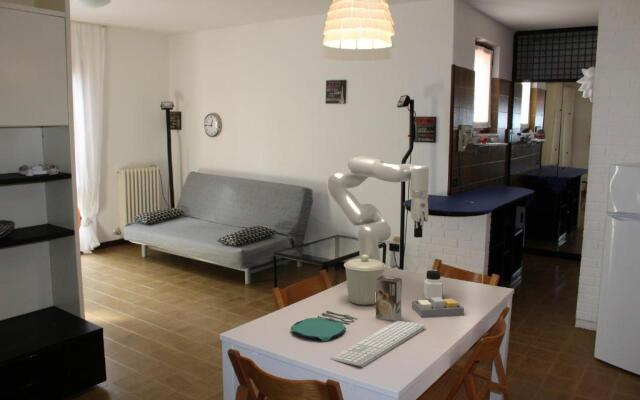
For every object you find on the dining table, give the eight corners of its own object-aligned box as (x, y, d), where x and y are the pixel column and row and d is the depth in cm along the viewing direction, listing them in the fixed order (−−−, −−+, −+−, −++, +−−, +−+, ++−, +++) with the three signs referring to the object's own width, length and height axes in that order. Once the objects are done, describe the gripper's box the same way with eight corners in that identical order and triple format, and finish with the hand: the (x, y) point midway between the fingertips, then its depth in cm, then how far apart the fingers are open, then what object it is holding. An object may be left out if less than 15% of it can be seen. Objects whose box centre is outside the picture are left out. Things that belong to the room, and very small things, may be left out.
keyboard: (397, 322, 219) (397, 317, 219) (425, 330, 212) (425, 324, 211) (329, 360, 185) (329, 353, 184) (360, 370, 177) (360, 363, 177)
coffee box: (402, 316, 224) (402, 278, 222) (396, 321, 219) (397, 282, 216) (380, 313, 229) (381, 275, 226) (374, 318, 223) (375, 279, 221)
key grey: (435, 308, 227) (435, 301, 227) (430, 304, 233) (430, 297, 233) (444, 308, 228) (444, 301, 228) (439, 303, 234) (439, 296, 233)
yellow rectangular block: (448, 310, 228) (448, 303, 228) (443, 306, 234) (443, 299, 234) (457, 309, 229) (457, 302, 229) (452, 305, 235) (452, 298, 234)
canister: (373, 293, 255) (374, 248, 252) (392, 305, 238) (393, 257, 235) (337, 297, 248) (337, 251, 246) (354, 310, 232) (354, 261, 229)
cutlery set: (281, 334, 206) (281, 328, 205) (323, 312, 231) (323, 307, 231) (327, 346, 195) (327, 340, 195) (366, 322, 221) (366, 316, 220)
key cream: (422, 311, 227) (422, 304, 226) (417, 307, 232) (417, 300, 232) (431, 311, 227) (431, 304, 227) (426, 306, 233) (427, 299, 232)
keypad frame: (421, 317, 224) (421, 310, 223) (411, 307, 235) (412, 300, 235) (463, 315, 226) (464, 308, 226) (452, 305, 238) (452, 298, 238)
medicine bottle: (442, 299, 247) (443, 273, 245) (426, 299, 247) (426, 272, 245) (439, 294, 254) (440, 268, 252) (423, 294, 254) (424, 268, 252)
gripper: (433, 196, 228) (432, 240, 231) (421, 192, 243) (420, 233, 246) (416, 197, 227) (415, 241, 230) (405, 192, 242) (404, 233, 245)
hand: (418, 237), depth 238 cm, fingers closed
